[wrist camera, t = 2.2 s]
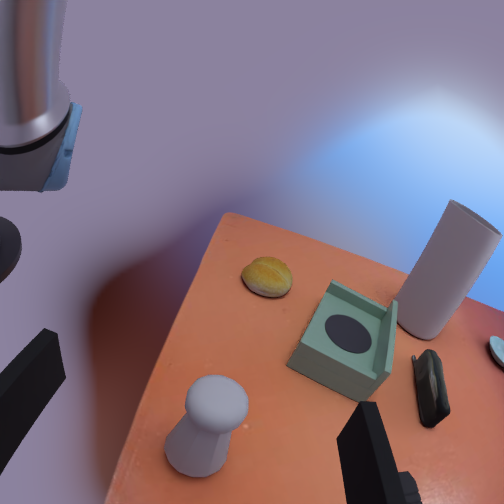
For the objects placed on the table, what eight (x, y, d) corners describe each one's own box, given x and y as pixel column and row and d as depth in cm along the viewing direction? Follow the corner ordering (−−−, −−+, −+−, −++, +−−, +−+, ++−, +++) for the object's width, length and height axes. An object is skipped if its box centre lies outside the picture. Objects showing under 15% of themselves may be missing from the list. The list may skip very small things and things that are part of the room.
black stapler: (455, 412, 32) (436, 341, 44) (441, 410, 32) (424, 337, 44) (433, 430, 34) (420, 360, 47) (419, 428, 34) (407, 356, 47)
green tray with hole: (286, 365, 39) (307, 330, 36) (320, 301, 54) (337, 269, 51) (362, 404, 36) (391, 373, 33) (378, 331, 51) (398, 301, 48)
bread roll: (232, 281, 52) (238, 262, 50) (257, 263, 59) (264, 245, 57) (275, 307, 49) (283, 288, 47) (295, 284, 56) (304, 267, 55)
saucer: (485, 335, 61) (490, 329, 60) (513, 358, 55) (518, 352, 54) (483, 357, 52) (489, 350, 51) (513, 383, 47) (520, 376, 45)
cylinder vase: (440, 348, 51) (512, 244, 39) (391, 328, 53) (462, 212, 41) (431, 313, 62) (487, 220, 50) (387, 293, 64) (442, 193, 52)
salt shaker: (182, 491, 22) (206, 447, 15) (152, 444, 25) (160, 375, 19) (232, 467, 25) (279, 410, 19) (201, 425, 29) (231, 351, 22)
